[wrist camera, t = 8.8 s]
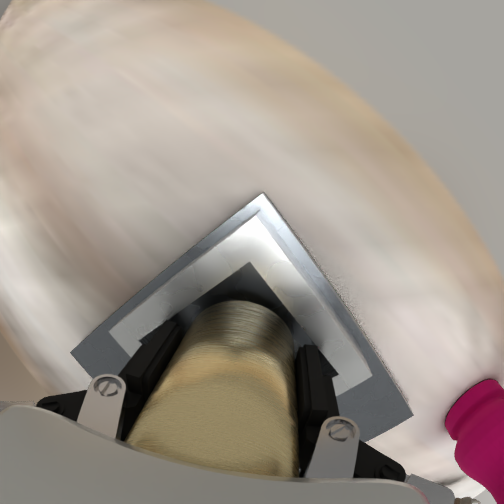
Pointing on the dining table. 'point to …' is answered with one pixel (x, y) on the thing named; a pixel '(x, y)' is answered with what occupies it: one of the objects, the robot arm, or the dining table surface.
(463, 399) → the pepper mill
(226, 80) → the dining table surface
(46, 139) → the dining table surface
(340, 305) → the plate
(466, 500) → the rhinoceros figurine
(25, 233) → the dining table surface
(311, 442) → the robot arm
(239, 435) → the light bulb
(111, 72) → the dining table surface
